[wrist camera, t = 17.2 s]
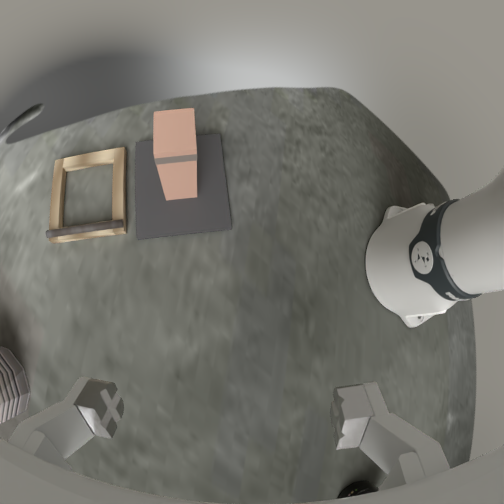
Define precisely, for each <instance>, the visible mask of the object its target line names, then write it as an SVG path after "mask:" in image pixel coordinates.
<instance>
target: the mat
mask: <svg viewBox="0 0 504 504" xmlns="http://www.w3.org/2000/svg"><path fill="white" fill-rule="evenodd" d="M196 144H197V197H195V198H185V199H175V200H166V198H165V195H164V191H163V188H162V184H161V180H160V177H159V173H158V169H157V166H156V164H155V160H154V154H153V140H147V141H140V142H136V155H135V206H136V233H137V239H138V240H140V239H149V238H157V237H166V236H175V235H184V234H193V233H202V232H212V231H222V230H231V229H232V224H231V217H230V209H229V201H228V194H227V186H226V178H225V170H224V162H223V153H222V145H221V137H220V134H207V135H196Z"/></svg>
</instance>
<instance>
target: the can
mask: <svg viewBox="0 0 504 504" xmlns="http://www.w3.org/2000/svg"><path fill="white" fill-rule="evenodd" d="M29 396H30V389H29V385H28V382H27V378H26V374H25V371H24V368H23V366H22V365H21V364H20V362H19V361H18V360H17V359H16V357H15V356H14V355H13V353H12V352H11V351H10V349H7V348H4V347H1V346H0V424H1V423H3V422H5V421H7V420H9V419H11V418H13V417H15V416H16V415H18V414H20V413H22V412H24V411H26V410H27V405H28V400H29Z"/></svg>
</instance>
